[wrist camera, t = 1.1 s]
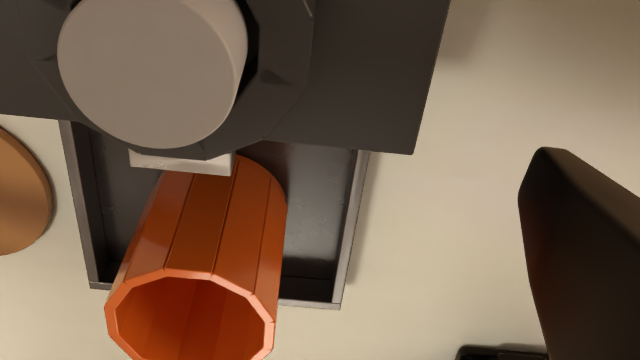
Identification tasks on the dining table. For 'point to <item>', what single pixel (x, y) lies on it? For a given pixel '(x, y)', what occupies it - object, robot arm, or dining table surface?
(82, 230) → the drip tray
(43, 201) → the cork coaster
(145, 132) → the button
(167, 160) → the grey small block
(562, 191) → the robot arm
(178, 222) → the orange cup
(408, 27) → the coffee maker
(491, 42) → the dining table surface
